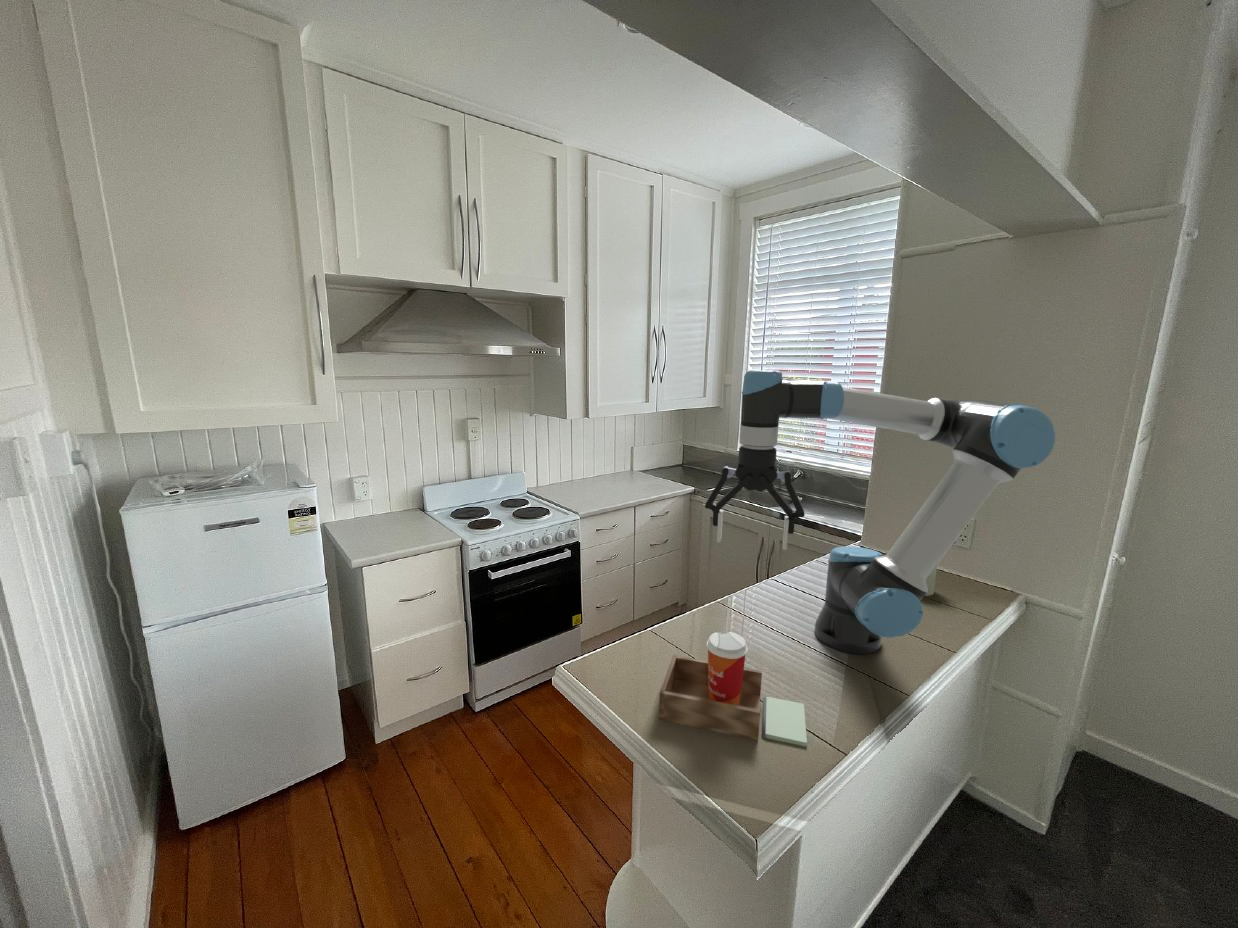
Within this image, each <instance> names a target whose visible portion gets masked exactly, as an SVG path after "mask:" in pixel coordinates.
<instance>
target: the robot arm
mask: <svg viewBox="0 0 1238 928" xmlns="http://www.w3.org/2000/svg"><path fill="white" fill-rule="evenodd" d="M780 418H782V419H785V418H786V419H788V418H792V419H793V418H794V419H818V420H819V419H820V420H824V419H829V420H834V421H840V422H845V423H851V424H856V425H857V424H858V425H862V426H869V427H874V428H881V429H884V430H885V429H886V430H891V431H897V432H903V433H908V434H915V435H917V436H918V437H919V438H920V439H921V440H924V441H929V442H932V443H933V442H934V443H938V444H941V445H944V446H947V447H950V448H952V450H951V452H952V453H951V454H952V457H953V463H952V465H951V466H950V467H949V469H948V470H947V472H946V473H945V474H943V475H944V476H943V477H942V478H941V479H940V481H939V482H938V484H937V485H936V486H935V488H934V489H933V491H932V492H931V493H930V495H929V496H928V497H927V499H926V500H925V501H924V503H923V504H922V505H921V507H920V508H919V510H918V511H917V512H916V514H915V515H914V517H913V518H912V520H910V522H909V523H908V524H907V526H906V528H905V529H904V530H903V532H902V533H901V535H899V537H898V538H897V540H896V541H895V543H894V544H893V545H892V546H891V548H890V550H889V551H888V552H887V553H886V554H885V555H883V554H882V553H881V552H880V551H877V550H875V549H870V548H866V547H859V546H837V547H834V548H832V549H831V550H830V552H829V557H828V560H827V563H828V564H827V573H826V574H827V576H826V587H825V597H824V604H823V606H822V608H821V610H820V612H819V614H818V616H817V618H816V620H815V622H814V634H815V637H817V638H818V640H820V641H821V642H822V643H823V644H825V645H826V646H829V647H831V648H833V649H835V650H838V651H841V652H845V653H851V654H858V655H861V654H862V655H867V654H871V653H874V652H877V651H878V650H879V649H880V648H881V646H882V639H883V638H889V639H893V638H896V637H899V638H900V637H904V636H906V635H908V634H910V633H912V632H913V631H914V630H916V628H917V627H918V626H919V625H920V624H921V622H922V620H923V616H924V612H923V604H922V602H921V601H922V600H923V598H924V597H926V596H925V594H926V593H927V591H928V589H927V585H926V579H927V578H928V576H929V575H930V574H931V572H932V571H933V570H934V568H935V567H936V566H937V567H938V565H939V563H940V562H941V560H942V559H943V558H944V556H945V555H946V554H947V552H948V551H949V550H950V549H951V547H952V546H953V545H954V544H955V542H956V541H957V540H958V538H959V537H960V535H961V534H962V533H963V531H964V530H965V529H966V527H968V525H969V523H971V521H972V519H973V518H974V516H975V515H976V514H977V513H978V511H979V510H980V509H981V508H982V506H983V505H984V504H985V502H986V501H987V499H988V498H989V497H990V495H992V493H993V492H994V490H995V489H996V488H997V486H999V484H1002V483H1008V482H1012V481H1014V479H1015V477H1016V476H1017V475H1018V474H1019V472H1020V471H1021V470H1023V469H1029V468H1032V467H1035V466H1038V465H1041V464H1042V463H1043V462H1044V461H1046V459H1048V457H1049V456H1050V455H1051V453H1052V451H1053V449H1054V447H1055V444H1056V432H1055V429H1054V427H1055V426H1054V424H1053V422H1052V420H1051V419H1050V418H1049V416H1048V415H1047V414H1046V413H1045V412H1043V410H1040V409H1038V408H1036V407H1033V406H1027V405H1024V404H1021V403H1006V402H1005V403H1004V402H996V401H995V402H994V401H988V400H957V399H956V400H955V399H945V398H938V397H934V398H933V397H931V398H930V399H928V400H921V399H915V398H909V397H905V396H897V395H892V394H886V393H880V392H874V391H868V390H862V389H857V388H851V387H845V386H842V384H841V382H838V381H828V380H810V379H809V380H808V379H807V380H806V379H799V378H792V377H788V378H783V373H782V371H780V370H766V369H765V370H761V369H760V370H759V369H758V370H757V369H755V370H753V369H752V370H750V369H749V370H748V371H746V372H745V373H744V377H743V383H742V391H741V413H740V425H739V426H740V427H739V439H738V440H739V444H740V446H739V447H738V461H737V467H736V468H733V467H729V466H728V465H725V466H723V468H722V471H721V476H720V479H719V481H718V482H717V484H716V486H714V489H713V490H712V492H711V493H710V496H709V497H708V498H707V501H706V502H705V504H704V508H705V509H709V510H710V511H712V527H713V526H714V527H717V528H716V529H717V530H716V531H717V532H716V542H717V543H721V542H722V538H723V537H722V536H723V535H722V534H723V522H724V519H723V517H724V509H722V508H723V507H724V506H726V504H727V503H729V502H730V501H731V500H732V499H733V497H735V496H736V495H737V494H738V493H739V492H740V491H741V490H743V489H745V490H746V491H750V492H751V491H757V492H763V491H767V492H768V494H770V495H771V497H772V498H773V499H774V501H775V502H776V503H777V504H778V506H779V507H780V509H782V510H783V512H784V513H785V515H784V521H783V522H784V523H783V535H782V536H783V537H782V550H783V551H784V550H786V551H787V549H788V535H789V534H791V535H792V534H794V532H795V531H794V530H795V523H796V520H797V519H800V518H804V517H805V510H804V508H803V506H802V503H801V501H800V499H799V496H798V494H797V491H796V490H795V488H794V485H793V482H792V473H791V471H790V470H789V469H786V470H785V471H777V470H776V464H777V449H776V448H777V447H776V446H777V445H778V437H779V436H778V435H779V423H780V422H779V421H780ZM733 475H735V476H736V478H737V479H738V482H736V483H735V484H734V485H733V487H731V489H730V490H728V492H726V493H725V495H724V496H723V497H721V498H720V499H719V501H717V503H716V502H715V500H716V498H717V497H718V495H719V494H720V492H721V491H722V489H723V487H724V485H725V483H726V482H727V479H731V477H732V476H733ZM777 478H778V479H779V480H780V482H782V483H784V485H785V488H786V490H787V492H788V494H789V497H790V500H791V502H792V503H793V506H794V508H795V509H794V510H793V508H792V507H791V506H790V504H789V503H788V502H787V501H786V500H785V498H784V496H783V495H781V493H780V492H779V491H778V489H777V488H776V487H775V485H774V481H776V480H777Z"/></svg>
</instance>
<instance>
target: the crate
mask: <svg viewBox="0 0 1238 928" xmlns="http://www.w3.org/2000/svg"><path fill="white" fill-rule="evenodd" d="M762 676H763V670H761V669H760V670H758V669H753V668H748V667H747V668H746V667H744V671H743V678H742V686H741V693H740V700H739V706H737V705H732V704H727V703H722V702H717V701H712V700H709V689H708V660H703V659H697V658H690V657H685V656H682V655H675V654H673V655H672V657H671V660H670V663H669V665H668V668H667V672H666V675H665V676H664V677H665V678H664V679H663V682H662V686H661V688H660V691H659V700H658V701H659V703H658V704H659V706H658V707H659V709H658V720H662V721H666V722H670V723H675V724H679V725H684V726H689V727H693V728H698V729H704V730H706V731H712V732H716V733H721V734H727V735H730V736H734V737H739V738H744V739H748V740H749V739H750V740H754V741H759V733H760V732H759V731H760V722H761V721H760V720H761V719H760V717H761V709H760V708H761V690H762V680H763V679H762V678H763V677H762Z"/></svg>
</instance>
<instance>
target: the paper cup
mask: <svg viewBox="0 0 1238 928" xmlns="http://www.w3.org/2000/svg"><path fill="white" fill-rule="evenodd" d="M705 644H706V648H707V661H708V689H709V700H712V701H717V702H722V703H727V704H732V705H737V706H739V700H740V693H741V686H742V678H743V671H744V668H745V661H746V656H747V654H748V651H749V649H748V645H747V642H746V640H745V638H744V637H742V636H741V635H740V634H737V633H735V632H732V631H728V632H726V631H720V632H717V631H716V632H714V633H711V634H710V636H709V637H708V639H707V641H706V643H705Z"/></svg>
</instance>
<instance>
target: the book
mask: <svg viewBox="0 0 1238 928" xmlns="http://www.w3.org/2000/svg"><path fill="white" fill-rule="evenodd" d="M761 719H762V721H761V739H764V740H767V739H769V740H773V741H778V742H783V743H787V744H792V745H796V746H801V747H806V748H807V746H808V740H807V739H808V736H807V727H806V725H807V724H806V713H805V704H804V703H801V702H796V701H791V700H786V699H782V698H776V697H771V696H766V697H763V698H762V718H761Z"/></svg>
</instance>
